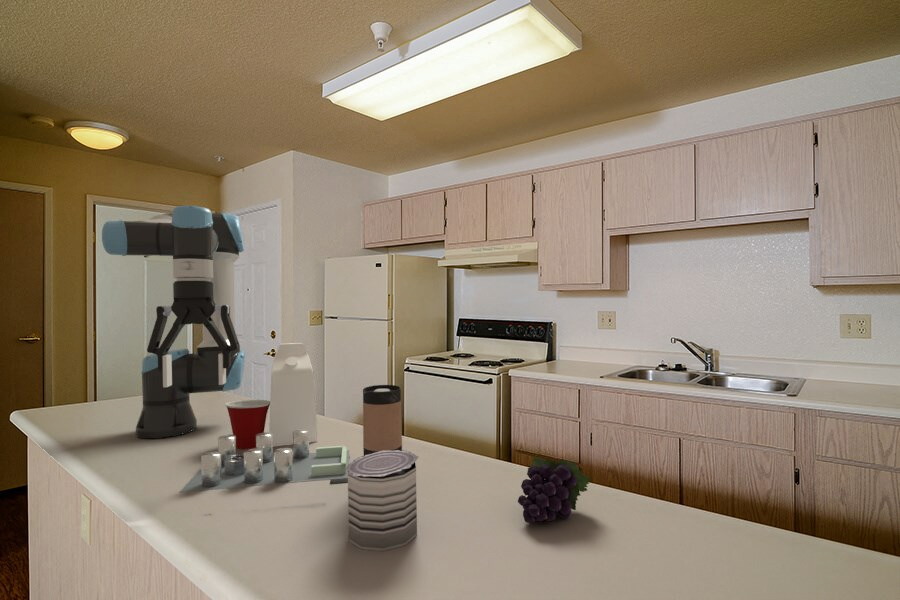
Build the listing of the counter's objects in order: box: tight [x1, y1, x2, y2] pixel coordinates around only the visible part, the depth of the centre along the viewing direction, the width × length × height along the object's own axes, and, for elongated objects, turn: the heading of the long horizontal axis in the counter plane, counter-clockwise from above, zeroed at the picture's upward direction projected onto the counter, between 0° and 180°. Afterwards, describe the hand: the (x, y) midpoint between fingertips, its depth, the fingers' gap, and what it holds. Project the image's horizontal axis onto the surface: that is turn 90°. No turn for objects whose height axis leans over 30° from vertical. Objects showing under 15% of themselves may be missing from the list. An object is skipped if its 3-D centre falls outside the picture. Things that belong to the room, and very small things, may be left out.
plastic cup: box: [224, 399, 270, 451], centre depth 121 cm, size 11×11×12 cm
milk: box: [268, 342, 319, 447], centre depth 127 cm, size 12×12×26 cm
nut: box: [224, 453, 244, 476], centre depth 103 cm, size 5×4×3 cm
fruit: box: [517, 455, 591, 525], centre depth 82 cm, size 10×10×15 cm
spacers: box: [200, 429, 310, 487], centre depth 104 cm, size 18×20×6 cm
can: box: [345, 449, 420, 552], centre depth 77 cm, size 11×11×12 cm
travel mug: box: [362, 384, 403, 456], centre depth 95 cm, size 8×8×20 cm
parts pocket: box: [311, 445, 348, 477], centre depth 107 cm, size 13×7×2 cm, turn 11°
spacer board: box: [179, 449, 350, 493], centre depth 104 cm, size 18×32×1 cm, turn 101°
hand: (195, 384), depth 101 cm, fingers open, 10 cm apart
